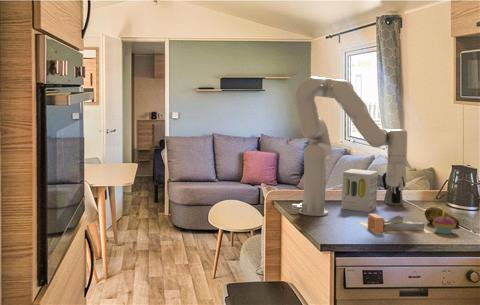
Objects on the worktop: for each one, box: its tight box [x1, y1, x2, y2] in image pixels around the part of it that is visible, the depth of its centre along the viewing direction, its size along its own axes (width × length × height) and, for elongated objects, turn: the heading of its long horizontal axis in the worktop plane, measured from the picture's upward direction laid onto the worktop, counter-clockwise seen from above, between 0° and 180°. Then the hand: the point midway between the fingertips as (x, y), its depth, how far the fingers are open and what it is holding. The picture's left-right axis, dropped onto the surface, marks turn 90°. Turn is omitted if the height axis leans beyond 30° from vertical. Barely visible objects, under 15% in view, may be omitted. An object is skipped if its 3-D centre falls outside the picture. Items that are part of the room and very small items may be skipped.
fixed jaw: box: [383, 222, 425, 231], centre depth 210 cm, size 17×4×4 cm, turn 99°
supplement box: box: [340, 168, 379, 213], centre depth 253 cm, size 13×13×18 cm
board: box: [358, 221, 433, 235], centre depth 213 cm, size 23×18×1 cm
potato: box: [424, 206, 460, 228], centre depth 220 cm, size 8×13×8 cm, turn 45°
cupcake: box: [432, 203, 457, 235], centre depth 208 cm, size 9×8×12 cm
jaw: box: [384, 215, 404, 223], centre depth 216 cm, size 14×2×3 cm, turn 137°
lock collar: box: [367, 213, 385, 233], centre depth 208 cm, size 3×8×5 cm, turn 9°
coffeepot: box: [381, 172, 404, 206], centre depth 266 cm, size 15×9×18 cm, turn 124°
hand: (395, 202), depth 226 cm, fingers closed
